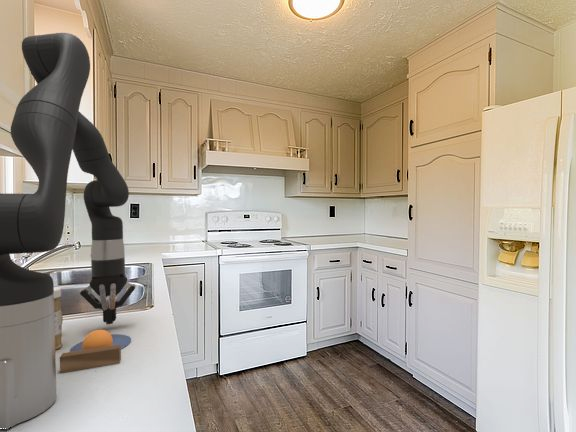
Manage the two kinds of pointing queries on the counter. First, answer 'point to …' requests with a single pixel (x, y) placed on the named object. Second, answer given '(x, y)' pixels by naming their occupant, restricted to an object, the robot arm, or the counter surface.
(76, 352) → the stopper wall
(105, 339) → the ball
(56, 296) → the sprinkles bottle
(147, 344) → the counter surface
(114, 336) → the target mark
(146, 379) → the counter surface
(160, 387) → the counter surface
